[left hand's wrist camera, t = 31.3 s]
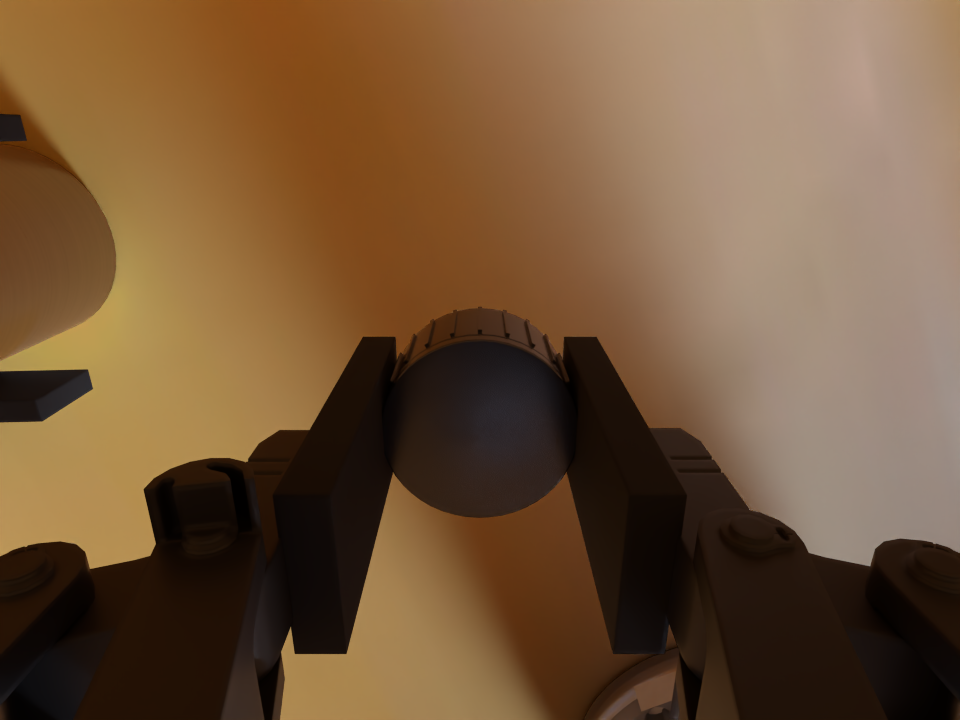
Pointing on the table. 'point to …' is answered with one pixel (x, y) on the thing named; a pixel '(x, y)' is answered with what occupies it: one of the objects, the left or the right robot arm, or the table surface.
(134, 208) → the table surface
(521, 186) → the table surface
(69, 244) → the bottle
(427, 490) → the cap
